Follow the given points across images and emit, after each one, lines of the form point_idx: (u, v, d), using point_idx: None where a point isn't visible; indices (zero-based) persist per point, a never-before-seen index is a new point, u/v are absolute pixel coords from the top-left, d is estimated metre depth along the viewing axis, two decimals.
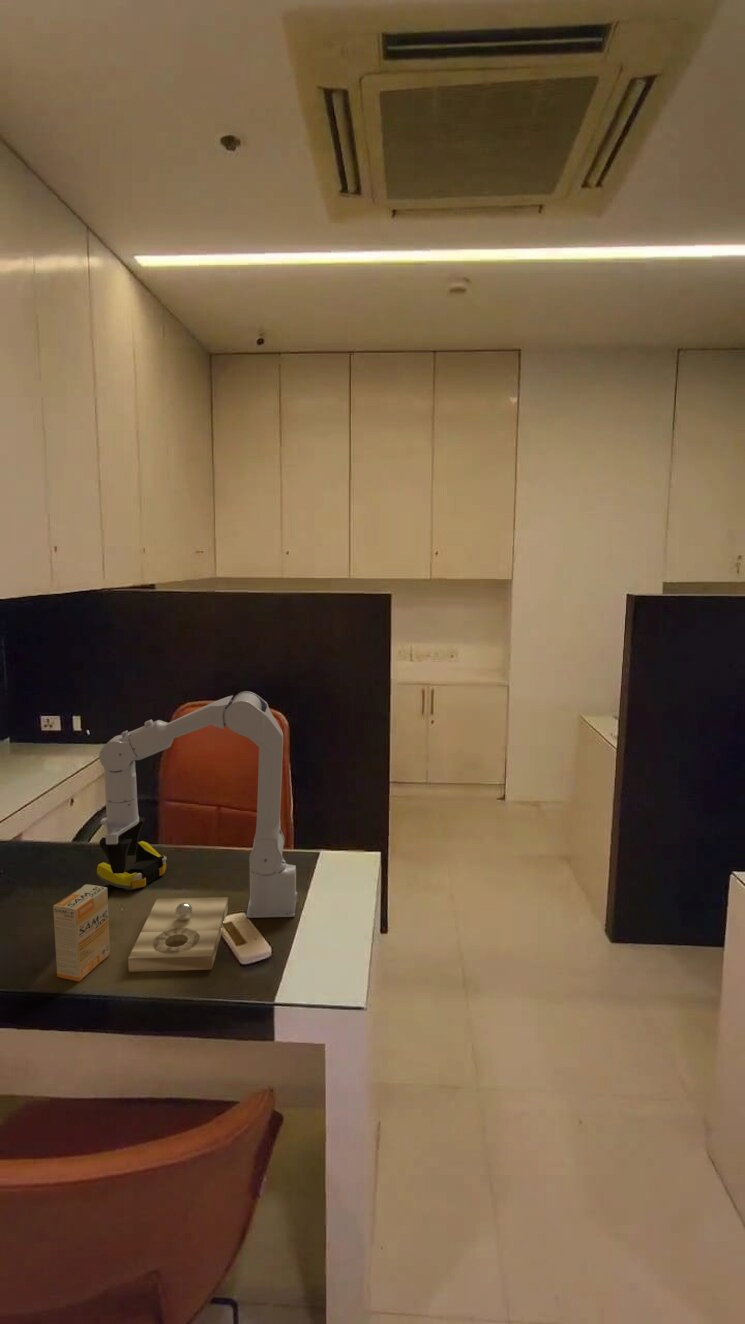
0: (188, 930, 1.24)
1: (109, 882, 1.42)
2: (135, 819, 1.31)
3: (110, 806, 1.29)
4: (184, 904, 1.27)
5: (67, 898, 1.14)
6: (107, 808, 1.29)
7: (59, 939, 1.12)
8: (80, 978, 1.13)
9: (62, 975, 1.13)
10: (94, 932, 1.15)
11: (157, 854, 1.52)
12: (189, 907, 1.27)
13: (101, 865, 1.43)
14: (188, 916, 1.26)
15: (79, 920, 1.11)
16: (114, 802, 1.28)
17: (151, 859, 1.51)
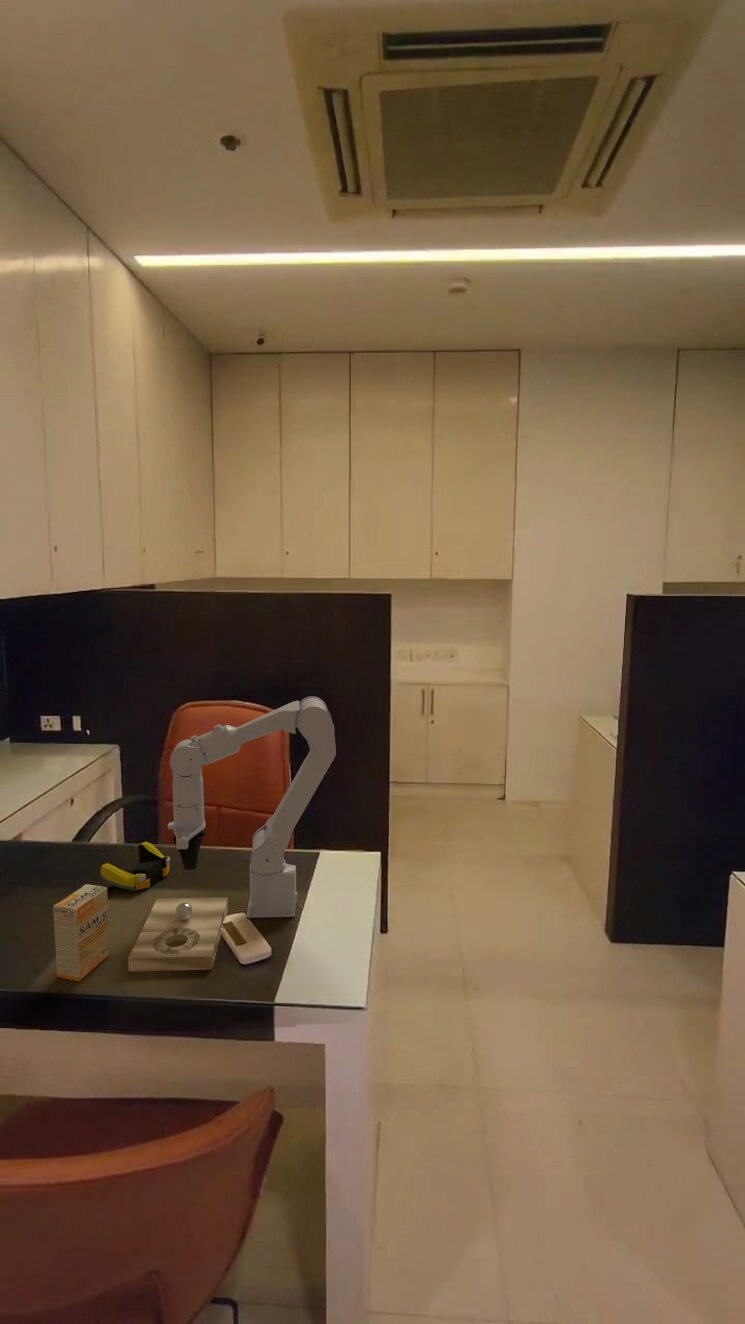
0: (188, 930, 1.24)
1: (113, 883, 1.41)
2: (202, 824, 1.31)
3: (178, 811, 1.29)
4: (184, 904, 1.27)
5: (67, 898, 1.14)
6: (175, 812, 1.29)
7: (59, 939, 1.12)
8: (80, 978, 1.13)
9: (62, 975, 1.13)
10: (94, 932, 1.15)
11: (161, 855, 1.52)
12: (189, 907, 1.27)
13: (105, 866, 1.42)
14: (188, 916, 1.26)
15: (79, 920, 1.11)
16: (183, 807, 1.28)
17: (155, 860, 1.51)
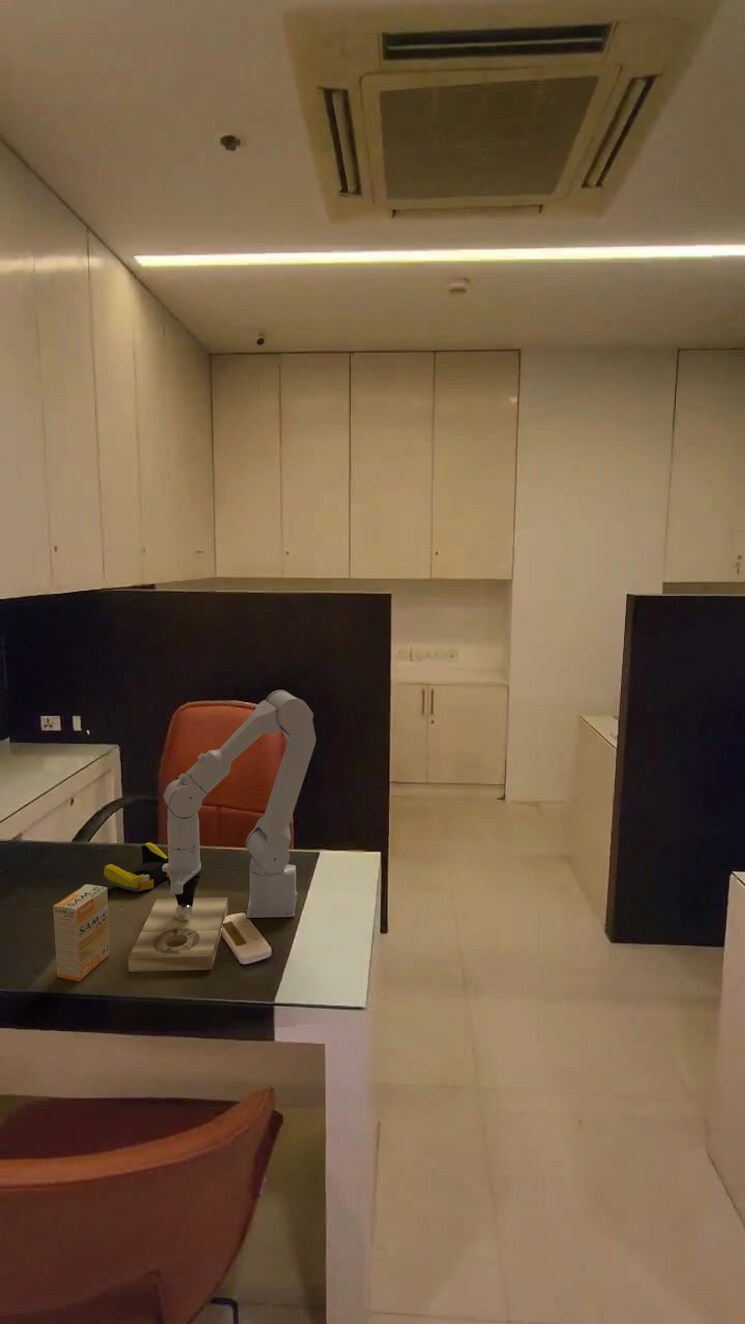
0: (188, 930, 1.24)
1: (116, 884, 1.41)
2: (198, 866, 1.27)
3: (173, 853, 1.24)
4: (183, 905, 1.26)
5: (67, 898, 1.14)
6: (170, 854, 1.25)
7: (59, 939, 1.12)
8: (80, 978, 1.13)
9: (62, 975, 1.13)
10: (94, 932, 1.15)
11: (164, 855, 1.52)
12: (189, 908, 1.26)
13: (108, 867, 1.42)
14: (188, 917, 1.26)
15: (79, 920, 1.11)
16: (177, 849, 1.24)
17: (158, 860, 1.50)
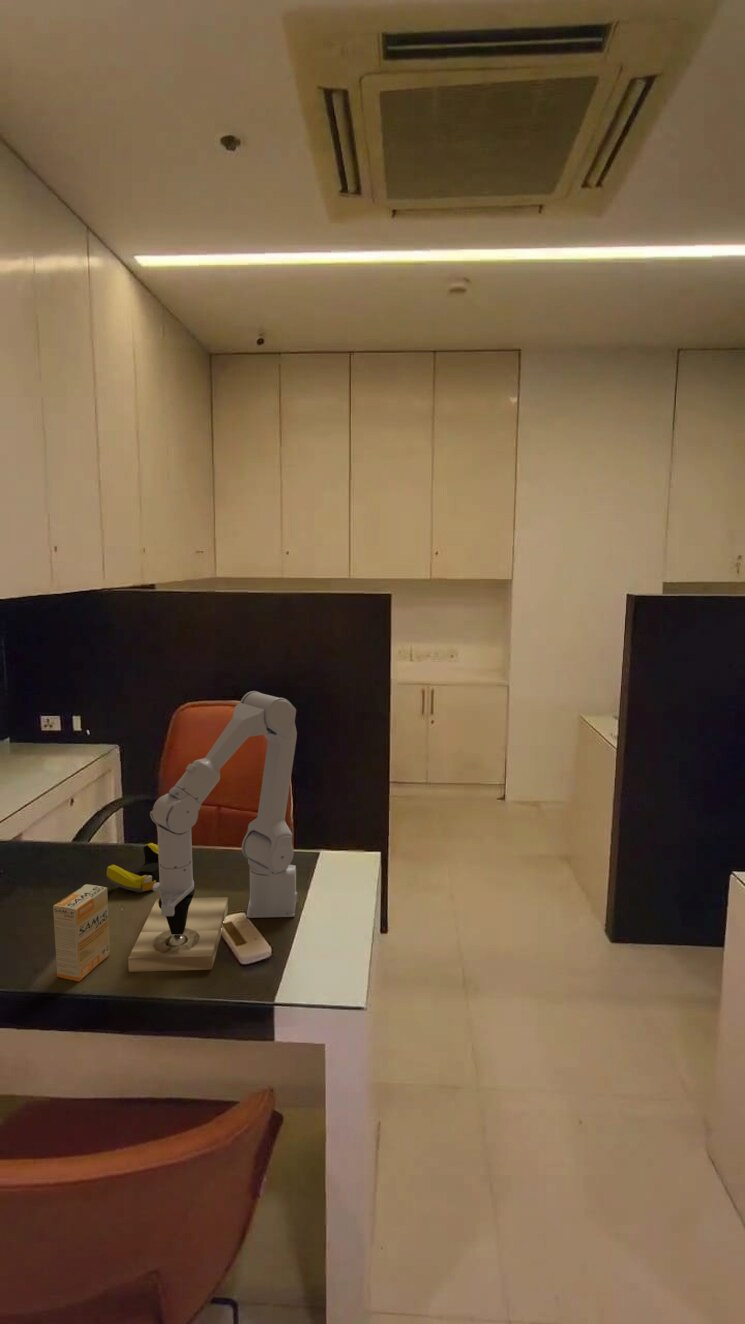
0: (188, 930, 1.24)
1: (119, 884, 1.41)
2: (190, 885, 1.20)
3: (164, 872, 1.17)
4: None
5: (67, 898, 1.14)
6: (161, 873, 1.18)
7: (59, 939, 1.12)
8: (80, 978, 1.13)
9: (62, 975, 1.13)
10: (94, 932, 1.15)
11: None
12: None
13: (111, 867, 1.42)
14: (178, 946, 1.20)
15: (79, 920, 1.11)
16: (169, 868, 1.17)
17: None
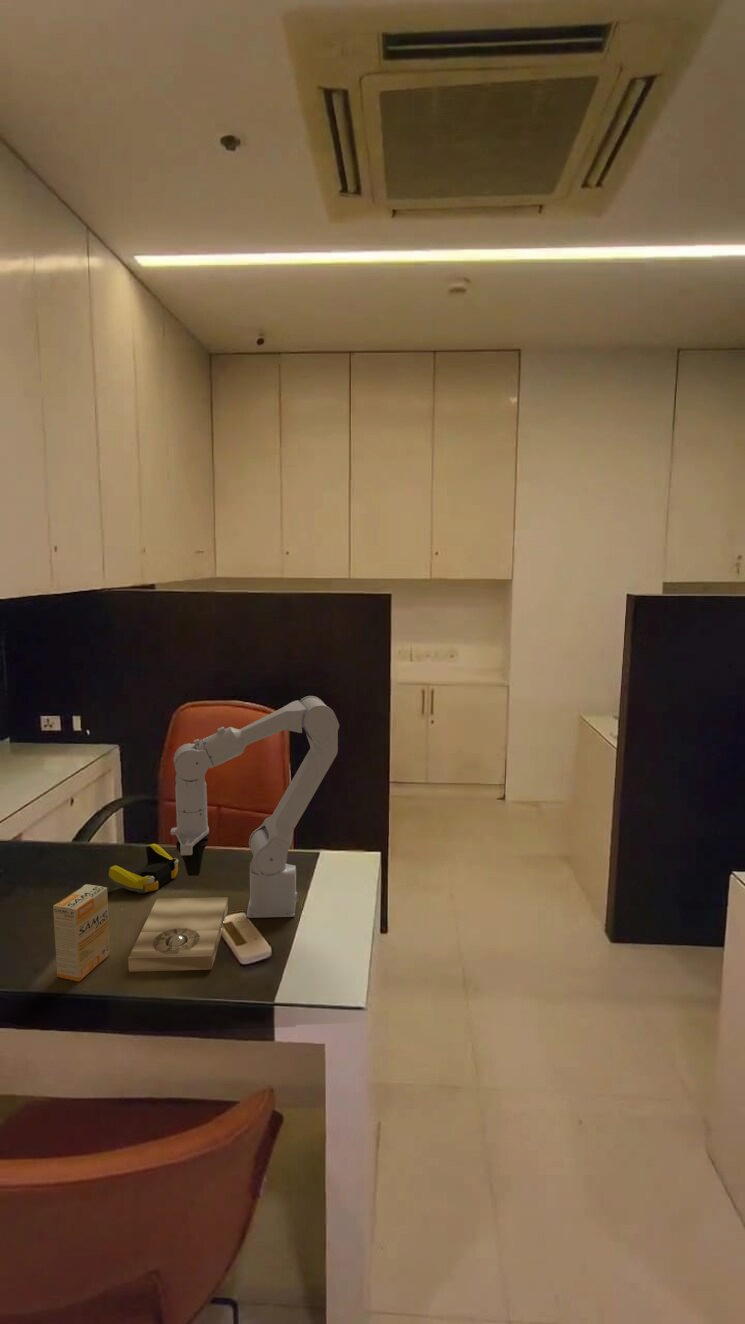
0: (188, 930, 1.24)
1: (121, 885, 1.41)
2: (206, 829, 1.29)
3: (182, 816, 1.26)
4: None
5: (67, 898, 1.14)
6: (178, 818, 1.27)
7: (59, 939, 1.12)
8: (80, 978, 1.13)
9: (62, 975, 1.13)
10: (94, 932, 1.15)
11: (169, 857, 1.51)
12: None
13: (113, 868, 1.42)
14: None
15: (79, 920, 1.11)
16: (186, 812, 1.26)
17: (163, 862, 1.50)
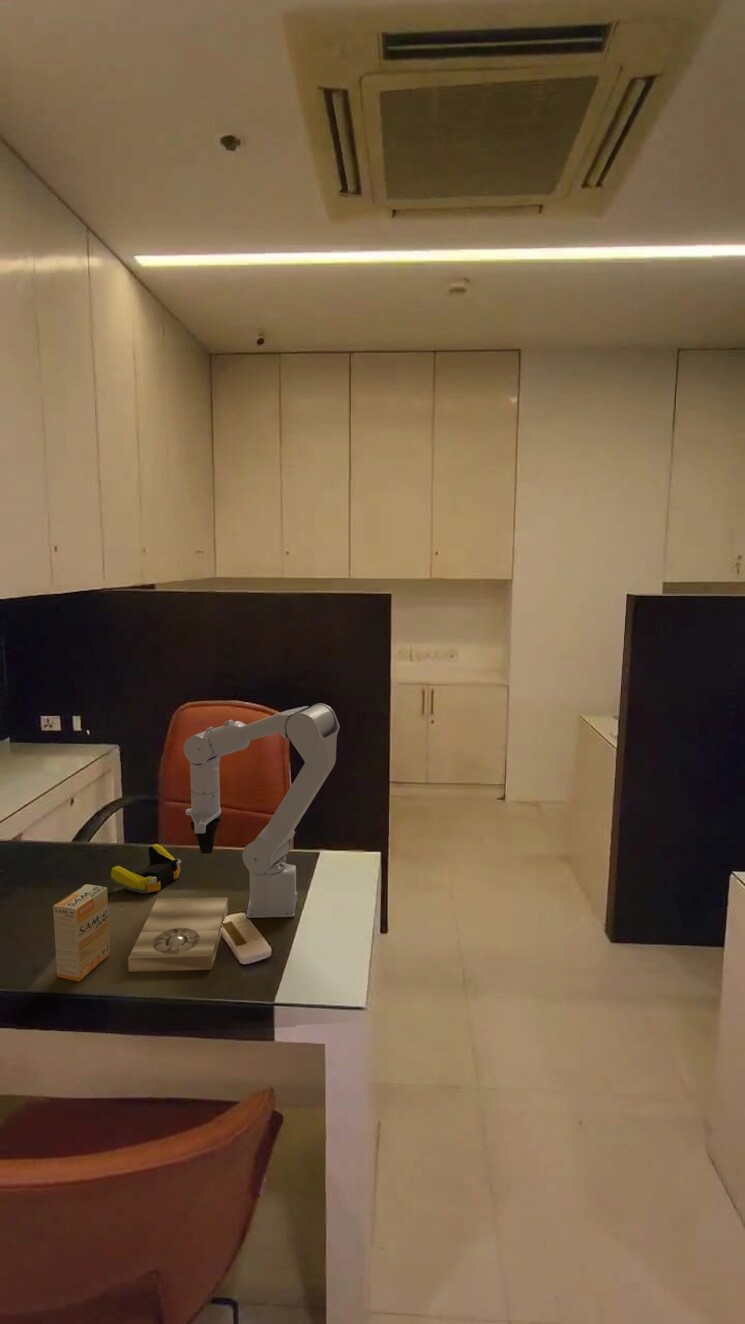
0: (188, 930, 1.24)
1: (123, 886, 1.40)
2: (218, 810, 1.38)
3: (196, 797, 1.36)
4: None
5: (67, 898, 1.14)
6: (193, 799, 1.36)
7: (59, 939, 1.12)
8: (80, 978, 1.13)
9: (62, 975, 1.13)
10: (95, 932, 1.15)
11: (171, 857, 1.51)
12: None
13: (115, 868, 1.41)
14: None
15: (79, 920, 1.11)
16: (200, 793, 1.35)
17: (165, 862, 1.50)
